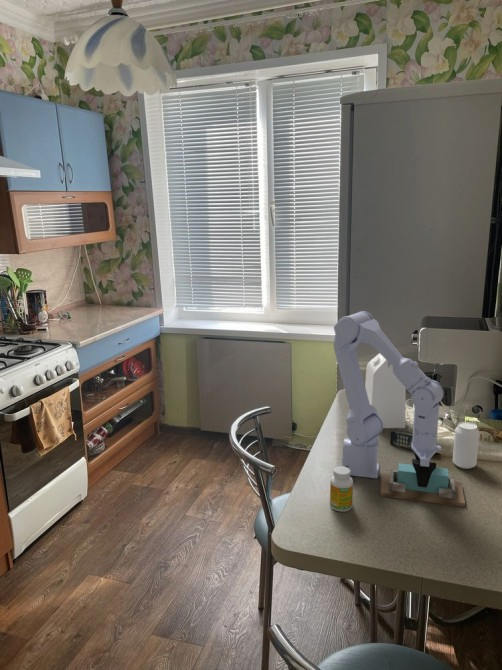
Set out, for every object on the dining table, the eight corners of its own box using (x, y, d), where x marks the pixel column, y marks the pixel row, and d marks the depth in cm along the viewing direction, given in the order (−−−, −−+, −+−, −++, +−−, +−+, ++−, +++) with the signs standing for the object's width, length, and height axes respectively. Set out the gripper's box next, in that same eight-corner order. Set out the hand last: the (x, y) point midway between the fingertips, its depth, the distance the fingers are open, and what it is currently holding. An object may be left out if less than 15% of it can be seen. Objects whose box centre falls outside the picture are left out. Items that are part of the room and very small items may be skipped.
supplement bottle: (338, 514, 123) (339, 478, 121) (325, 503, 128) (326, 468, 126) (356, 508, 126) (358, 472, 123) (343, 497, 130) (344, 462, 128)
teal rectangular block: (397, 488, 132) (398, 470, 131) (397, 480, 136) (398, 463, 135) (447, 494, 129) (448, 476, 128) (446, 486, 133) (447, 468, 131)
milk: (405, 427, 170) (409, 351, 164) (370, 428, 170) (373, 352, 164) (395, 413, 182) (399, 342, 175) (362, 413, 182) (365, 342, 175)
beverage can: (478, 471, 142) (482, 430, 139) (454, 469, 143) (457, 429, 140) (473, 460, 148) (477, 421, 145) (450, 458, 149) (453, 420, 146)
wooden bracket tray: (380, 495, 131) (380, 485, 130) (381, 476, 140) (382, 466, 139) (464, 506, 125) (465, 495, 125) (460, 485, 135) (461, 475, 134)
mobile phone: (389, 431, 157) (440, 441, 149) (393, 427, 160) (443, 437, 151) (389, 446, 158) (439, 457, 150) (392, 442, 161) (442, 453, 152)
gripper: (444, 444, 121) (440, 495, 124) (440, 419, 134) (436, 467, 138) (412, 440, 123) (409, 491, 126) (412, 417, 136) (409, 463, 140)
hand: (421, 478), depth 132 cm, fingers open, 7 cm apart
